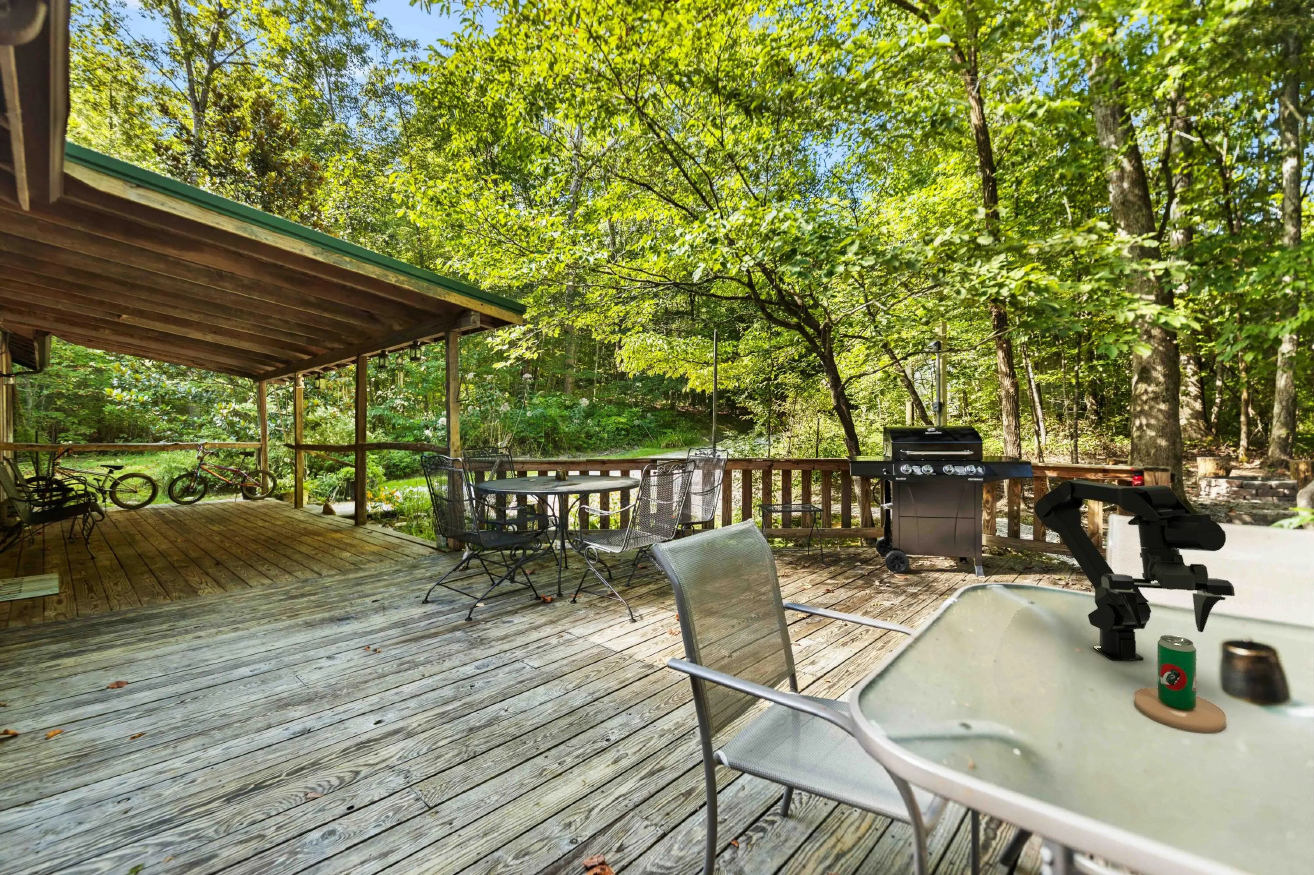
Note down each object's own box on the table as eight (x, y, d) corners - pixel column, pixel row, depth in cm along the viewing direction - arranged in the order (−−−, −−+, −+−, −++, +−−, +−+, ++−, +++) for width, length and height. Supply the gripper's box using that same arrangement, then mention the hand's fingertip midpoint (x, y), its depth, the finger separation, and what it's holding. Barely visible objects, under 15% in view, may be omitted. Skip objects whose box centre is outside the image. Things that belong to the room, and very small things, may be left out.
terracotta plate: (1118, 695, 106) (1118, 687, 106) (1186, 695, 104) (1186, 687, 104) (1168, 732, 94) (1168, 724, 94) (1246, 733, 92) (1246, 724, 92)
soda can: (1202, 713, 96) (1202, 647, 95) (1166, 710, 98) (1166, 644, 97) (1186, 698, 101) (1186, 635, 100) (1152, 695, 102) (1151, 632, 102)
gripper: (1113, 548, 106) (1122, 631, 104) (1244, 552, 98) (1257, 642, 96) (1097, 546, 116) (1105, 622, 114) (1214, 549, 108) (1225, 631, 106)
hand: (1169, 629), depth 107 cm, fingers open, 9 cm apart
